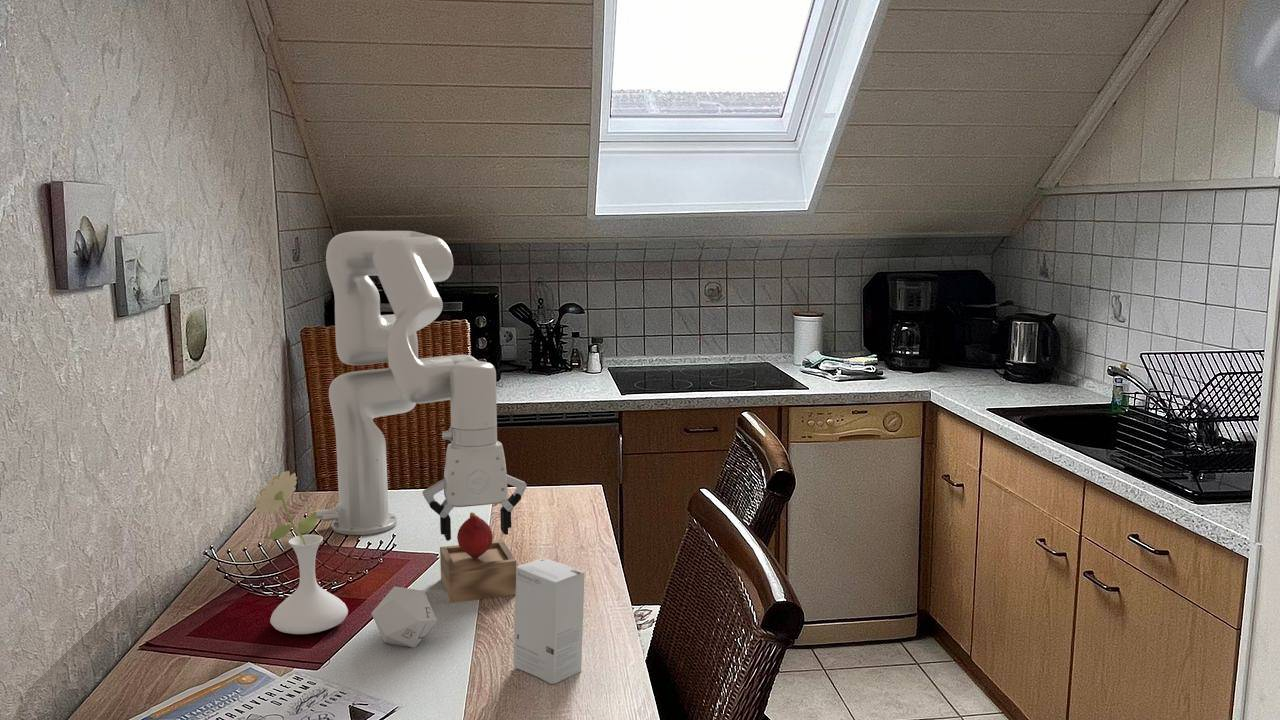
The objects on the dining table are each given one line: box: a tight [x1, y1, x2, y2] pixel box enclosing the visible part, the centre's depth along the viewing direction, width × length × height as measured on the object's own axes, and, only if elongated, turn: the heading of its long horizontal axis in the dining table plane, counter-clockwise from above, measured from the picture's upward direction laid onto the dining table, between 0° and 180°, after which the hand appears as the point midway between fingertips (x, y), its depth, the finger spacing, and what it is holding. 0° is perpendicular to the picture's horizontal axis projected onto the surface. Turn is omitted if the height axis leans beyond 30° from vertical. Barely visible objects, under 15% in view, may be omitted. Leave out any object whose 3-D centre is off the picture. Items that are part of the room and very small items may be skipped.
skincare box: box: [513, 557, 585, 685], centre depth 137 cm, size 8×6×15 cm
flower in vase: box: [252, 470, 349, 635], centre depth 151 cm, size 13×11×25 cm
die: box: [371, 585, 438, 649], centre depth 147 cm, size 8×9×10 cm
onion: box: [456, 512, 494, 559], centre depth 168 cm, size 6×6×8 cm
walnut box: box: [439, 539, 517, 604], centre depth 169 cm, size 11×11×6 cm
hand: (476, 535), depth 168 cm, fingers open, 9 cm apart
